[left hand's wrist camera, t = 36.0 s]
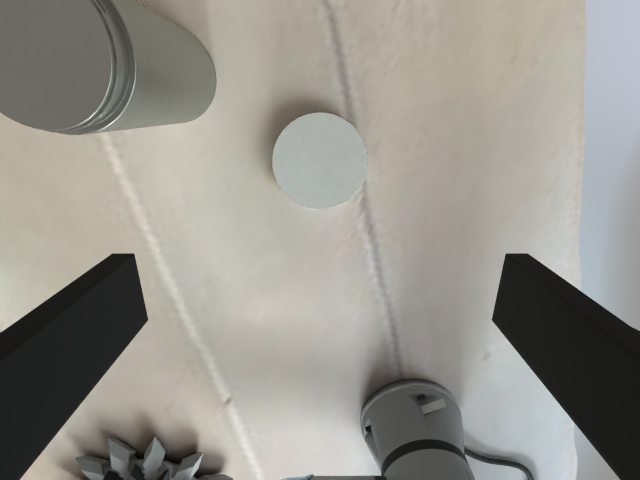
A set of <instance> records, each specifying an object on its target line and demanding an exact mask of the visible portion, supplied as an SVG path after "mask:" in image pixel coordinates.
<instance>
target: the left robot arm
mask: <svg viewBox="0 0 640 480" xmlns="http://www.w3.org/2000/svg"><path fill="white" fill-rule="evenodd" d="M147 321H148V317H147V312H146V308H145V303H144V298H143V293H142V288H141V284H140V279H139V274H138V269H137V265H136V260H135V255H134V254H111V255H110V256H108V257H107V258H106V259H104V260H103V261H101V262H100V263H99V264H97V265H96V266H94V267H93V268H91V269H90V270H89V271H87V272H86V273H84V274H83V275H82V276H80V277H79V278H77V279H76V280H75V281H73V282H72V283H70V284H69V285H68V286H66V287H65V288H63V289H62V290H60V291H59V292H58V293H56V294H55V295H53V296H52V297H51V298H49V299H48V300H46V301H45V302H44V303H42V304H41V305H39V306H38V307H37V308H35V309H34V310H32V311H31V312H29V313H28V314H27V315H25V316H24V317H22V318H21V319H20V320H18V321H17V322H15V323H14V324H13V325H11V326H10V327H8V328H7V329H6V330H4V331H3V332H1V333H0V480H20V479H21V477H22V476H23V475H24V474H25V472H26V471H27V470H28V469H29V467H30V466H31V465H32V464H33V462H34V461H35V460H36V459H37V457H38V456H39V455H40V454H41V452H42V451H43V450H44V449H45V447H46V446H47V445H48V444H49V443H50V441H51V440H52V439H53V438H54V436H55V435H56V434H57V433H58V431H59V430H60V429H61V428H62V426H63V425H64V424H65V423H66V421H67V420H68V419H69V418H70V416H71V415H72V414H73V413H74V411H75V410H76V409H77V408H78V406H79V405H80V404H81V403H82V401H83V400H84V399H85V398H86V397H87V395H88V394H89V393H90V392H91V390H92V389H93V388H94V387H95V385H96V384H97V383H98V382H99V380H100V379H101V378H102V377H103V375H104V374H105V373H106V372H107V370H108V369H109V368H110V367H111V365H112V364H113V363H114V362H115V360H116V359H117V358H118V357H119V356H120V354H121V353H122V352H123V351H124V349H125V348H126V347H127V346H128V344H129V343H130V342H131V341H132V339H133V338H134V337H135V336H136V334H137V333H138V332H139V331H140V329H141V328H142V327H143V326H144V324H145V323H146V322H147ZM492 321H493V322H494V323H495V324H496V326H497V327H498V328H499V329H500V331H501V332H502V333H503V334H504V336H505V337H506V338H507V339H508V341H509V342H510V343H511V344H512V346H513V347H514V348H515V349H516V351H517V352H518V353H519V354H520V356H521V357H522V358H523V359H524V360H525V362H526V363H527V364H528V365H529V367H530V368H531V369H532V370H533V372H534V373H535V374H536V375H537V377H538V378H539V379H540V380H541V382H542V383H543V384H544V385H545V387H546V388H547V389H548V390H549V392H550V393H551V394H552V395H553V397H554V398H555V399H556V400H557V401H558V403H559V404H560V405H561V406H562V408H563V409H564V410H565V411H566V413H567V414H568V415H569V416H570V418H571V419H572V420H573V421H574V423H575V424H576V425H577V426H578V428H579V429H580V430H581V431H582V433H583V434H584V435H585V436H586V437H587V439H588V440H589V441H590V443H591V444H592V445H593V446H594V447H595V449H596V450H597V451H598V452H599V454H600V455H601V456H602V457H603V459H604V460H605V461H606V462H607V464H608V465H609V466H610V467H611V469H612V470H613V471H614V472H615V474H616V475H617V476H618V477H619V479H620V480H640V331H638V330H636V329H634V328H632V327H630V326H629V325H627V324H626V323H625V322H623V321H622V320H620V319H619V318H618V317H616V316H615V315H613V314H612V313H611V312H609V311H608V310H606V309H605V308H603V307H602V306H601V305H599V304H598V303H596V302H595V301H594V300H592V299H591V298H589V297H588V296H587V295H585V294H584V293H582V292H581V291H580V290H578V289H577V288H575V287H574V286H572V285H571V284H570V283H568V282H567V281H565V280H564V279H563V278H561V277H560V276H558V275H557V274H556V273H554V272H553V271H551V270H550V269H549V268H547V267H546V266H544V265H543V264H541V263H540V262H539V261H537V260H536V259H534V258H533V257H532V256H530V255H529V254H506V255H505V260H504V265H503V269H502V274H501V279H500V284H499V288H498V293H497V298H496V303H495V307H494V312H493V317H492ZM361 426H362V433H363V437H364V439H365V442H366V444H367V446H368V448H369V450H370V452H371V454H372V455H373V457H374V459H375V461H376V463H377V465H378V467H379V469H380V471H381V475H382V476H314V475H308V476H306V477H295V478H285V479H283V480H475V478H474V476H473V474H472V471H471V469H470V467H469V464H468V462H467V460H466V457H465V454H466V455H468V456H470V457H472V458H474V459H477V460H479V461H482V462H486V463H490V464H496V465H505V466H511V467H515V468H518V469H520V470H522V471H523V472H525V473H526V474H527V477H528V480H534V479H533V476H532V473H531V472H530V471H529V469H527V468H526V467H525V466H523V465H521V464H519V463H516V462H513V461H508V460H501V459H494V458H488V457H484V456H481V455H478V454H476V453H473V452H471V451H469V450H467V449H465V448H464V442H463V428H462V419H461V414H460V411H459V408H458V406H457V404H456V402H455V400H454V398H453V397H452V395H451V394H450V393H449V392H448V391H447V390H445V389H444V388H443V387H441V386H439V385H437V384H434V383H432V382H428V381H423V380H405V381H399V382H395V383H392V384H389V385H387V386H385V387H383V388H381V389H380V390H378V391H377V392H376V393H374V394H373V395H372V396H371V397H370V398H369V399H368V401H367V402H366V404H365V405H364V407H363V410H362V413H361Z"/></svg>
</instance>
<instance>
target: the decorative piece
mask: <svg viewBox="0 0 640 480" xmlns="http://www.w3.org/2000/svg"><path fill="white" fill-rule="evenodd" d="M107 439H108V446H109V453H110V460H111V461H109V460H105V459H101V458H97V457H93V456H83V457H75V458H76V460H77V462H78V464H79V466H80V469H81V470H82V471H83V473H84V474H85V475H86V476H87V477H88V478H89V479H90V480H233V478H230V477H228V476H226V475H224V474H218V475H202V476H201V477H200V478H196V477H195V476H194V473H195V472H196V471H197V470H198V468H199V465H200V462H201V459H202V456H203V453H200V452H198V453H196V454H193V455H190V456H188V457H185V458H182V460H181V463H178V464H175V463H173V462H170V461H167V460H165V459H164V455H165V453H166V450H165V449H164V447H163V446H162V444H161V443H160V441H159V440H158V438H156V437H154V438H153V440H152V441H151V443H150V445H149V446H148V448H147V449H146V451H145V455H144V459H138V458H137V457H135V453H136V451H135V450H134V449H132V448H131V447H129V446H127V445H126V444H124V443H123V442H121V441H119V440H117V439H111V438H107Z"/></svg>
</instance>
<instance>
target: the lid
mask: <svg viewBox="0 0 640 480" xmlns="http://www.w3.org/2000/svg"><path fill="white" fill-rule="evenodd" d="M367 155H368V154H367V150H366V146H365V143H364V140H363V139H362V137H361V135H360V134H359V132H358V131H357V130H356V127H354V126H353V125H352V124H350V123H349V122H348V121H347V120H345V118H341V117H339V116H337V115H334V114H331V113H330V112H329V113H325V112H314V113H309V114H306V115H303V116H302V115H301V117H299V118H297V119H295V120H294V121H292V122H291V123H288V125H287V126H286V127H285V128H284V130H283V131H282V132H281V134H279V137H278V139H277V141H276V143H275V146H274V148H273V155H272V168H273V173H274V176H275V179H276V181H277V183H278V185H279V187H280V188H281V190H282V191H283V192H284V193H285V195H286V196H287V197H289V198H290V199H291V200H292V201H294V202H295V203H297V204H299V205H301V206H304V207H306V208H310V209H318V210H319V209H330V208H333V207H337V206H339V205H341V204H343V203H345V202H346V201H348V200H349V199H350V198H352V197H353V196H354V195H355V194H356V192H357V191H358V190H359V188H360V187H361V185H362V183H363V181H364V179H365V176H366V172H367V167H368V156H367Z"/></svg>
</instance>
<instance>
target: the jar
mask: <svg viewBox="0 0 640 480" xmlns="http://www.w3.org/2000/svg"><path fill="white" fill-rule="evenodd" d="M215 90H216V73H215V67H214V64H213V61H212V59H211V57H210V55H209V53H208V51H207V49H206V48H205V47H204V45H203V44H202V43H201V42H200V41H199V40H198V39H197V38H196V37H195V36H194V35H193V34H191V33H190V32H188V31H187V30H185V29H183V28H181V27H180V26H178V25H176V24H174V23H172V22H171V21H169V20H167V19H165V18H164V17H162V16H160V15H158V14H157V13H155V12H153V11H151V10H150V9H148V8H146V7H144V6H143V5H141V4H139V3H137V2H136V1H134V0H0V112H1V113H2V114H4V115H5V116H7V117H9V118H11V119H12V120H14V121H16V122H18V123H21V124H23V125H26V126H29V127H32V128H36V129H40V130H45V131H50V132H57V133H61V134H68V135H84V134H92V133H101V132H109V131H118V130H126V129H134V128H143V127H151V126H159V125H168V124H176V123H185V122H189V121H192V120H194V119H196V118H198V117H199V116H201V115H202V114H203V113H204V112H205V111H206V110H207V109H208V107H209V106H210V104H211V102H212V100H213V98H214V94H215Z"/></svg>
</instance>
